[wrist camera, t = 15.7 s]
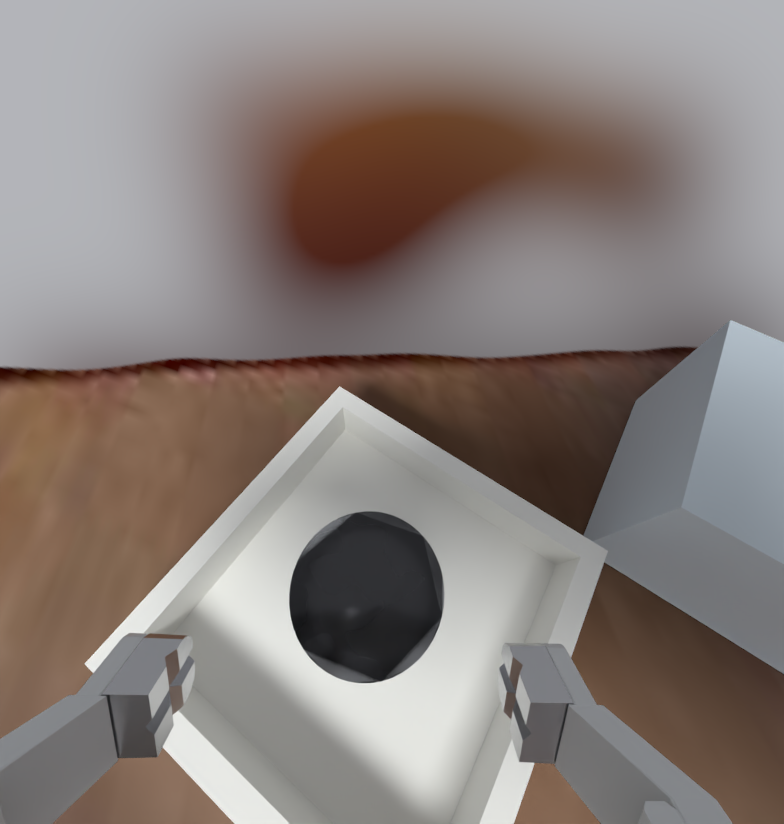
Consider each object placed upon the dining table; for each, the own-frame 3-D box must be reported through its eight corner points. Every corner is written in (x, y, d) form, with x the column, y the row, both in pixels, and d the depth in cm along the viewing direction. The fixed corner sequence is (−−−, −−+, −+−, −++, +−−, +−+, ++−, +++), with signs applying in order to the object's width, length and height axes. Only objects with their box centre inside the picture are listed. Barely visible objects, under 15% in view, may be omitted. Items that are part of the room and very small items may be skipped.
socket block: (823, 494, 23) (1013, 439, 16) (812, 691, 18) (1085, 732, 11) (635, 400, 26) (730, 319, 19) (579, 546, 21) (681, 507, 14)
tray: (573, 562, 21) (608, 550, 18) (423, 948, 14) (438, 1040, 11) (343, 416, 24) (339, 386, 21) (134, 657, 17) (84, 663, 14)
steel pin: (427, 592, 19) (471, 566, 10) (382, 673, 17) (387, 726, 8) (362, 545, 20) (352, 484, 11) (314, 617, 18) (255, 612, 9)
